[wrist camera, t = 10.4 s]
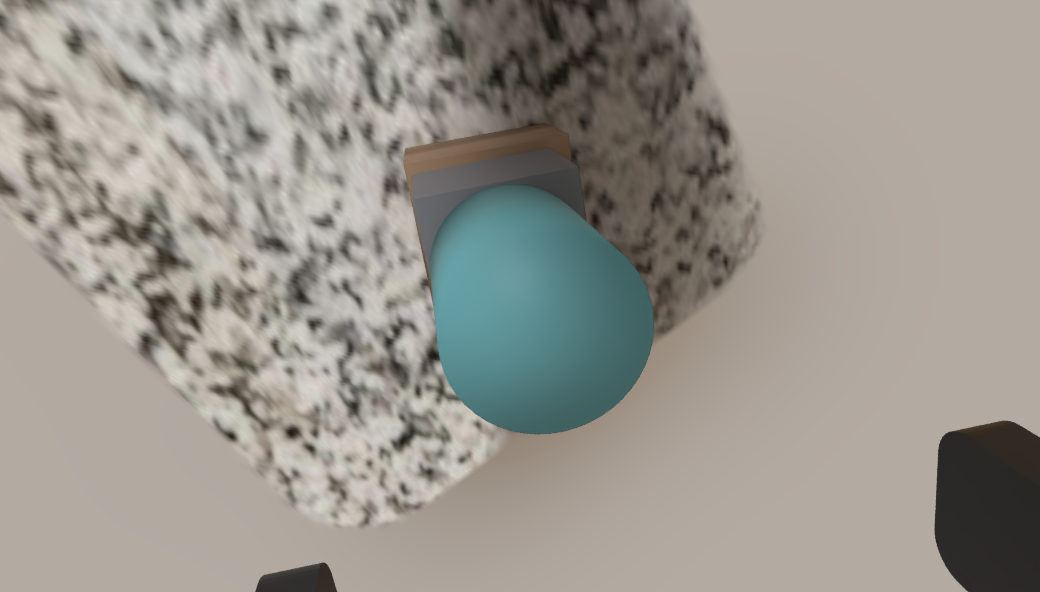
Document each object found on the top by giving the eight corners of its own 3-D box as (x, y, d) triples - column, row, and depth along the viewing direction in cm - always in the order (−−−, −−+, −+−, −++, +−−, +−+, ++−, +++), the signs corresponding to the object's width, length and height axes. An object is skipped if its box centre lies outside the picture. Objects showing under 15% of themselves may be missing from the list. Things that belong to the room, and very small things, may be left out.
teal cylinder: (413, 201, 21) (416, 253, 16) (580, 169, 22) (642, 209, 16) (447, 356, 23) (461, 454, 17) (601, 324, 23) (664, 409, 18)
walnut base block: (405, 148, 30) (403, 164, 26) (544, 123, 31) (568, 134, 26) (433, 282, 32) (436, 320, 28) (564, 257, 33) (589, 290, 28)
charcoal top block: (412, 174, 26) (411, 199, 21) (549, 147, 26) (578, 166, 22) (441, 304, 28) (447, 354, 23) (569, 277, 28) (600, 321, 23)
